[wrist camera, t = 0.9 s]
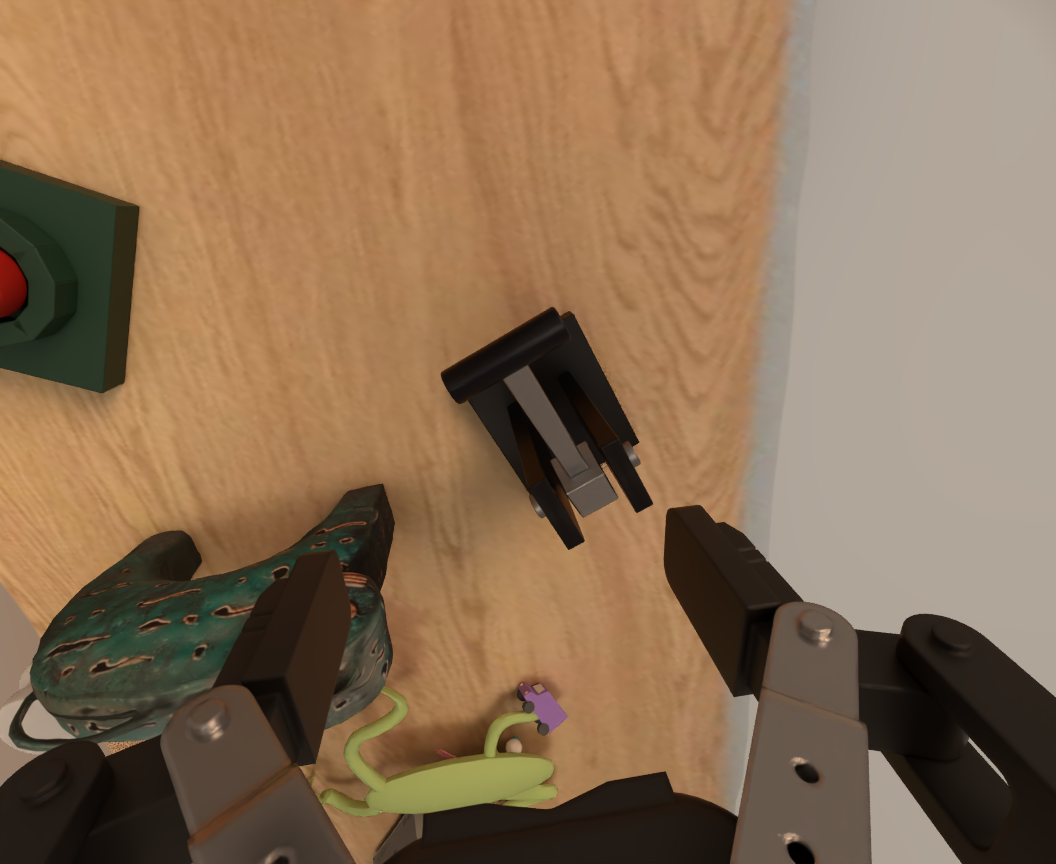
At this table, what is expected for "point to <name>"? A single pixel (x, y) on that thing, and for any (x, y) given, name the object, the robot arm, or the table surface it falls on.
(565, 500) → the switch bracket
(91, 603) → the ceramic cat
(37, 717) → the pill bottle
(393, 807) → the figurine
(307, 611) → the robot arm
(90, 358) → the button block
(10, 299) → the button
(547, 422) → the lever
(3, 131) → the table surface
